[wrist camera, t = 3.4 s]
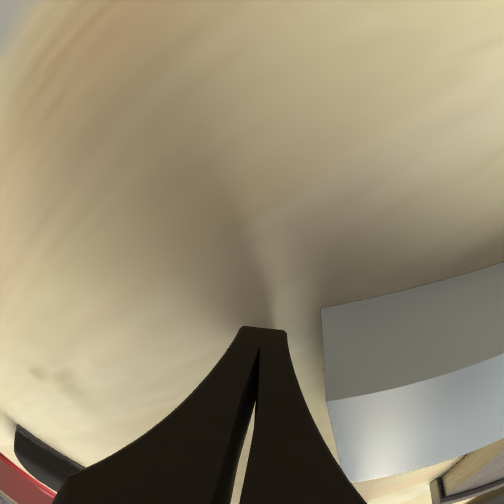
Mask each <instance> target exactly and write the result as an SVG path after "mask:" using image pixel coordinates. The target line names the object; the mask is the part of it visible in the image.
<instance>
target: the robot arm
mask: <svg viewBox="0 0 504 504" xmlns="http://www.w3.org/2000/svg"><path fill="white" fill-rule="evenodd" d="M255 401H256V403H255ZM254 404H255V421H254V431H253V437H252V442H251V448H250V453H249V458H248V463H247V468H246V473H245V478H244V483H243V488H242V493H241V497H240V502H239V504H367V503H366V502H365V501H364V499H363V498H362V497H361V496H360V494H359V493H358V492H357V490H356V489H355V488H354V486H353V485H352V484H351V482H350V481H349V480H348V478H347V477H346V475H345V474H344V472H343V471H342V469H341V468H340V466H339V465H338V463H337V462H336V460H335V459H334V457H333V456H332V454H331V452H330V450H329V449H328V447H327V445H326V443H325V442H324V440H323V438H322V436H321V434H320V432H319V430H318V428H317V426H316V424H315V422H314V420H313V418H312V416H311V414H310V412H309V409H308V407H307V404H306V402H305V400H304V397H303V395H302V392H301V389H300V386H299V384H298V381H297V378H296V375H295V372H294V368H293V365H292V361H291V357H290V353H289V348H288V342H287V333H286V332H285V331H284V330H276V329H267V328H258V327H249V326H243V327H241V328H240V329H239V331H238V333H237V335H236V337H235V338H234V340H233V342H232V343H231V345H230V346H229V348H228V349H227V351H226V352H225V354H224V355H223V356H222V358H221V359H220V360H219V362H218V363H217V364H216V365H215V367H214V368H213V369H212V371H211V372H210V373H209V374H208V375H207V377H206V378H205V379H204V380H203V381H202V382H201V383H200V384H199V386H198V387H197V388H196V389H195V390H194V391H193V392H192V393H191V394H190V395H189V396H188V397H187V398H186V399H185V400H184V401H183V402H182V403H181V404H180V405H179V406H178V407H177V408H176V409H175V410H174V411H172V412H171V413H170V414H169V415H168V416H167V417H166V418H164V419H163V420H162V421H161V422H159V423H158V424H157V425H156V426H154V427H153V428H152V429H151V430H149V431H148V432H147V433H145V434H144V435H142V436H141V437H140V438H138V439H137V440H135V441H133V442H132V443H130V444H129V445H127V446H126V447H124V448H122V449H121V450H119V451H117V452H116V453H114V454H112V455H111V456H109V457H107V458H105V459H103V460H101V461H99V462H97V463H95V464H93V465H91V466H89V467H87V468H85V469H82V470H80V471H78V472H76V473H74V474H71V475H69V476H68V477H67V479H66V480H65V482H64V483H63V485H62V486H61V487H60V489H59V491H58V492H57V494H56V496H55V499H54V501H53V503H52V504H230V502H231V497H232V492H233V486H234V481H235V476H236V470H237V466H238V462H239V458H240V454H241V451H242V447H243V444H244V440H245V437H246V433H247V430H248V426H249V423H250V419H251V415H252V412H253V408H254ZM0 504H18V503H16V502H15V501H14V500H12V499H11V498H10V497H8V496H7V495H6V494H4V493H3V492H2V491H1V490H0Z"/></svg>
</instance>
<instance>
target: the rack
mask: <svg viewBox="0 0 504 504" xmlns="http://www.w3.org/2000/svg"><path fill="white" fill-rule="evenodd" d="M502 486H504V438H503V439H500V440H498V441H496V442H494V443H492V444H489V445H487V446H485V447H482V448H480V449H477V450H475V451H472V452H470V453H468V454H467V455H466V456H465V457H464V458H463V459H461V460H460V461H459V462H458V463H457V464H456V465H455V466H454V467H453V468H451V469H450V470H449V471H448V472H447V473H446V474H444V475H443V476H442V478H438V479H435V480H434V481H433V482H432V483H431V484H430V491H431V498H432V504H452V503H456V502H459V501H462V500H466V499H469V498H472V497H475V496H478V495H481V494H484V493H487V492H489V491H492V490H495V489H497V488H500V487H502Z"/></svg>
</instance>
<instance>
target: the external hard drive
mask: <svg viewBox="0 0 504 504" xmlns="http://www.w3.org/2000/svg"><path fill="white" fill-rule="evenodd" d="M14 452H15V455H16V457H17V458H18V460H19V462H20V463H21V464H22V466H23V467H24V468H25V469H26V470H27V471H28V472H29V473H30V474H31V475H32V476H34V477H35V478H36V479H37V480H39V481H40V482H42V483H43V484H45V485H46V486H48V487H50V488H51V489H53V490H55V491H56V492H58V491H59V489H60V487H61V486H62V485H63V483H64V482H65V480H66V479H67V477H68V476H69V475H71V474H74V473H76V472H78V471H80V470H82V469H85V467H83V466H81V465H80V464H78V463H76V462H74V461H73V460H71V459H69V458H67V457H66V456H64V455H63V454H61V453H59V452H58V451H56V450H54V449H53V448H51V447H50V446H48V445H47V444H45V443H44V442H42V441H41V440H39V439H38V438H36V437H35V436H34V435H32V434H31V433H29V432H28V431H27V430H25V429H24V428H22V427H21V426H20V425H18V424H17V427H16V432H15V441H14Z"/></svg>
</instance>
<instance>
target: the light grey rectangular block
mask: <svg viewBox="0 0 504 504" xmlns="http://www.w3.org/2000/svg"><path fill="white" fill-rule="evenodd" d="M321 320H322V334H323V351H324V371H325V398H326V405H327V409H328V413H329V418H330V422H331V426H332V430H333V435H334V439H335V443H336V447H337V452H338V456H339V461H340V465H341V469H342V471H343V472H344V474H345V475H346V477H347V478H348V480H349V481H350V482H351V483H355V482H361V481H367V480H373V479H378V478H383V477H388V476H393V475H397V474H401V473H405V472H409V471H413V470H417V469H421V468H424V467H428V466H431V465H435V464H438V463H441V462H444V461H447V460H450V459H453V458H456V457H459V456H462V455H464V454H467V453H470V452H472V451H475V450H477V449H480V448H482V447H485V446H487V445H489V444H492V443H494V442H496V441H498V440H500V439H503V438H504V262H502V263H499V264H496V265H493V266H489V267H486V268H483V269H480V270H476V271H473V272H470V273H466V274H463V275H459V276H456V277H452V278H449V279H445V280H441V281H438V282H434V283H430V284H426V285H423V286H419V287H415V288H411V289H407V290H403V291H399V292H395V293H390V294H386V295H382V296H378V297H373V298H369V299H364V300H360V301H355V302H351V303H346V304H341V305H336V306H332V307H327V308H322V309H321Z"/></svg>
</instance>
